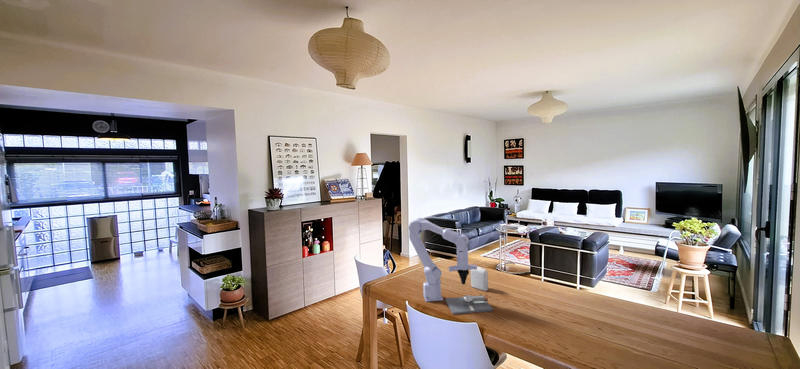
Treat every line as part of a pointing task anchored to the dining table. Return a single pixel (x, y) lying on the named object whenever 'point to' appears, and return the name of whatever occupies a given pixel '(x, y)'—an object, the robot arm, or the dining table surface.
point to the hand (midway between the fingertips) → (463, 283)
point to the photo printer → (479, 278)
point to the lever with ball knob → (474, 298)
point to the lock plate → (467, 306)
